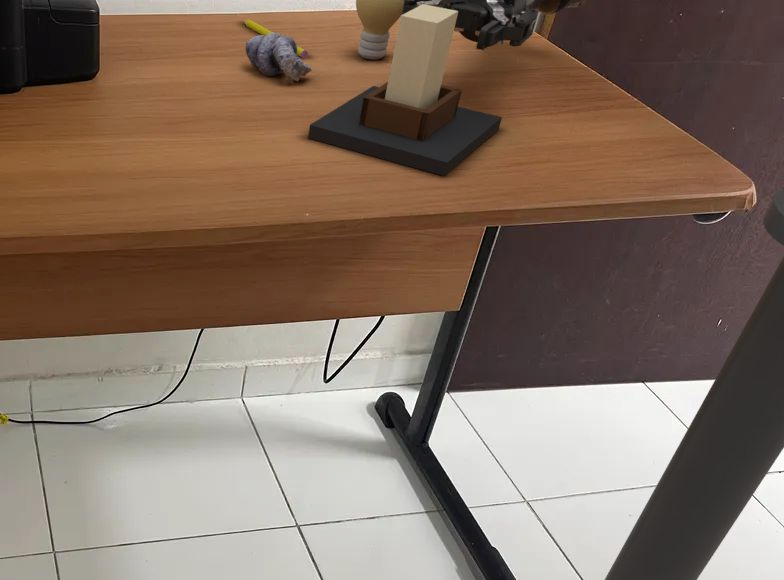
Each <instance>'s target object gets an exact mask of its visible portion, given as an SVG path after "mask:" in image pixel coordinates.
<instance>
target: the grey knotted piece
mask: <svg viewBox="0 0 784 580" xmlns="http://www.w3.org/2000/svg"><path fill="white" fill-rule="evenodd" d="M272 32H273V33H270V34H267V35H266V36H263V35H261V34H259V35H255V36H253V37H251V38H250V39H248V40H247V41H246V42H245V53H246V56H247V58H248V60H249V62H250V64H251V66H253V68H254V69H256V70H259V71H260V72H261V73H262V75H263V76H267V77H271V76H272V77H274V76H277V75H280V74H282V73H284V75H285V76H286V77H287V78H288V79H290V80H291V79H292V80H293V81H295V82H299V80H300V78H301V77H305V76H306V75H308V74H309V73H310V72H312V71H313V69H312V66H311V65H310V64H305V63H304V62H303V60H302V59H301V57H300V56H298V55H296V53H297V46H298V45H297V42H296V41H295V39H293V38H292V37H291V36H289V35H283V36H282V34H281V33H279V32H274V31H272Z"/></svg>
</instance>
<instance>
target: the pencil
mask: <svg viewBox="0 0 784 580" xmlns="http://www.w3.org/2000/svg"><path fill="white" fill-rule="evenodd" d="M243 22H244V24H245V26H246V27H247V28H249V29H250V30H252V31H254V32H256V33H258V34H259V35H263V36H266V35H267V34H270V33H273V32H274V31H271V30H270V29H268V28H266V27H265V26H262V25H260V24H258V23H257V22H255V21H253V20H251V19H244V20H243ZM296 55H297V57H299V58H302V59H305V58H307V57H308V51H307V50H306V49H304V48H302V47H300V46H299V45H297V53H296Z"/></svg>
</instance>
